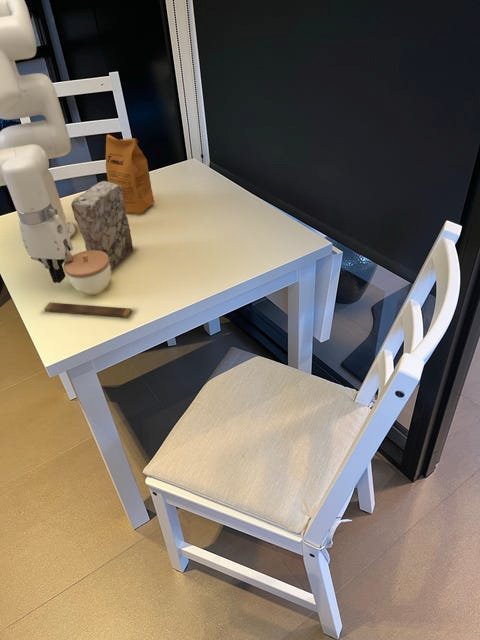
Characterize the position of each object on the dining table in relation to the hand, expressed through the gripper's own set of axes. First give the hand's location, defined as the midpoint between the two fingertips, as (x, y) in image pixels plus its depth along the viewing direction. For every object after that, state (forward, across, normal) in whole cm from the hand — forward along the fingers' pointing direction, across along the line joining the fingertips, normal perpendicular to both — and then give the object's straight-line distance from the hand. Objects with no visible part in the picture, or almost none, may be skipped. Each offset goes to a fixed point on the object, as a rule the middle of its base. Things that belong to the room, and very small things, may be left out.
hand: (59, 279), depth 129 cm
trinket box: (+3, -8, -1) cm, 9 cm away
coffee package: (+2, -2, -44) cm, 44 cm away
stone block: (+2, -8, -13) cm, 16 cm away
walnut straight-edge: (+2, -11, +8) cm, 14 cm away
